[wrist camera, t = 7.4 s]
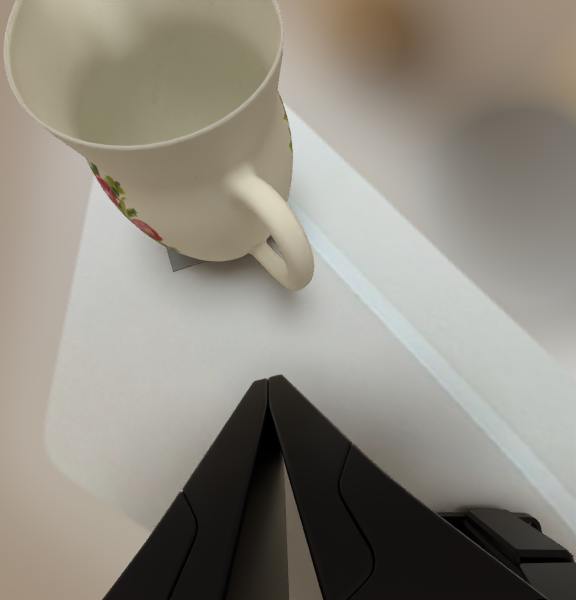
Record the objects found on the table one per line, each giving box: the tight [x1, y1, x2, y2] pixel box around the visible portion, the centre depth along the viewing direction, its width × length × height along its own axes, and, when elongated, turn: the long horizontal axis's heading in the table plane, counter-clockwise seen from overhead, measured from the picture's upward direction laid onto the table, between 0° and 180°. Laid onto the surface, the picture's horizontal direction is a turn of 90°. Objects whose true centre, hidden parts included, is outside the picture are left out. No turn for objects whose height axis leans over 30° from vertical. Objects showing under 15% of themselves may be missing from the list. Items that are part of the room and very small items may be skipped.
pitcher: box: [3, 0, 314, 291], centre depth 16 cm, size 11×18×14 cm, turn 38°
